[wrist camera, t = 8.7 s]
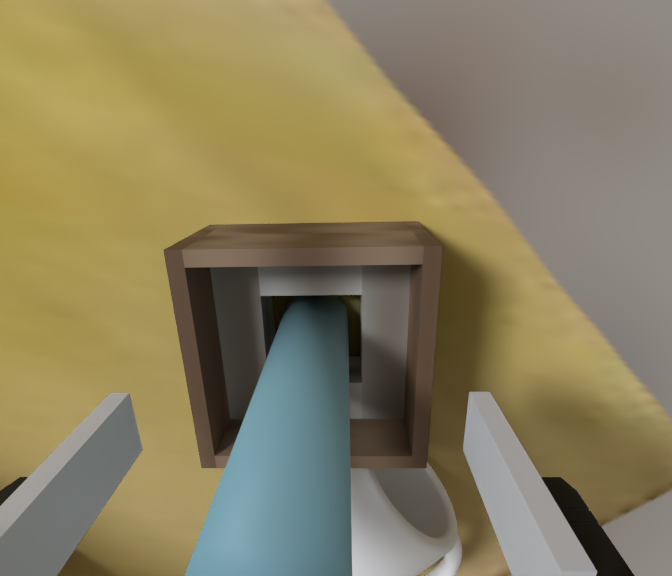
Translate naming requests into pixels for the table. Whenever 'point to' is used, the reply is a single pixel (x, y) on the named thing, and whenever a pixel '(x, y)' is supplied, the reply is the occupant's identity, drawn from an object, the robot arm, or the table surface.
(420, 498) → the mug
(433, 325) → the crate
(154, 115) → the table surface
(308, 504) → the peg
